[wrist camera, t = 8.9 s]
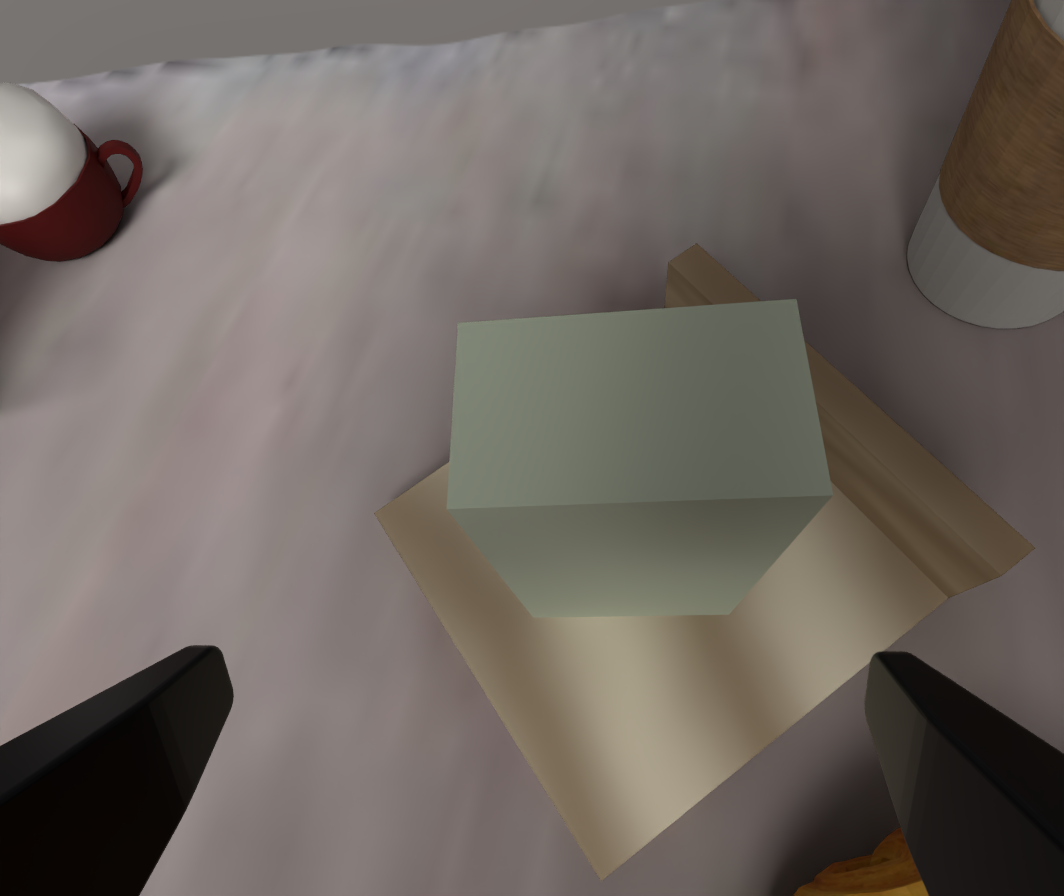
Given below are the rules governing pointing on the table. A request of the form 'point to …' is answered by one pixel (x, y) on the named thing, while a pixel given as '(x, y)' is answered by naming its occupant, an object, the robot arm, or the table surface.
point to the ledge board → (709, 619)
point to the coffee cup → (1002, 185)
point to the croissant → (871, 873)
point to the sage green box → (636, 455)
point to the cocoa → (56, 181)
